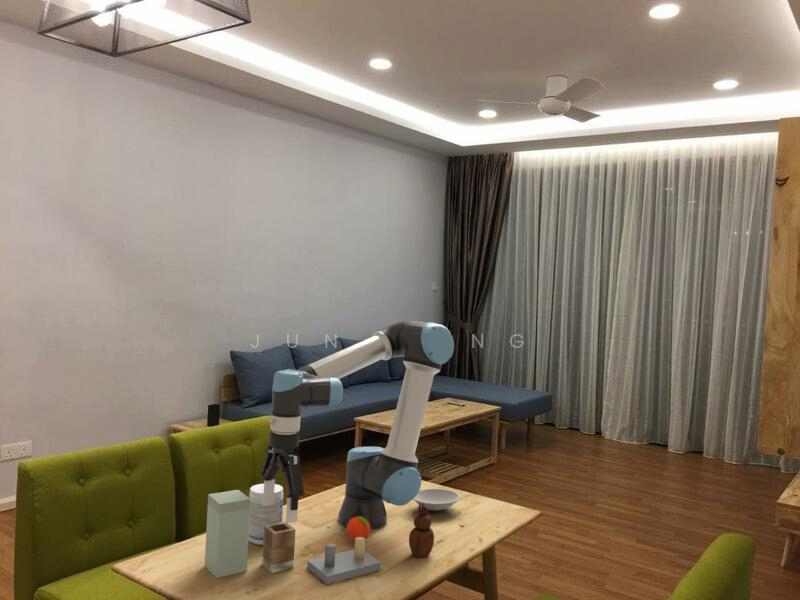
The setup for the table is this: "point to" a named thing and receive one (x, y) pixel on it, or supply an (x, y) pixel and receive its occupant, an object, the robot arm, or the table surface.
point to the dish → (437, 498)
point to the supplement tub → (263, 512)
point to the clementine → (358, 527)
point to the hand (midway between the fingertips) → (279, 513)
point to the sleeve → (278, 547)
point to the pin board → (344, 563)
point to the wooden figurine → (421, 534)
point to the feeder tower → (227, 533)
